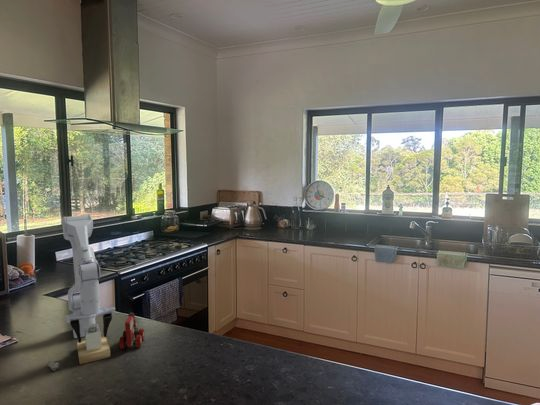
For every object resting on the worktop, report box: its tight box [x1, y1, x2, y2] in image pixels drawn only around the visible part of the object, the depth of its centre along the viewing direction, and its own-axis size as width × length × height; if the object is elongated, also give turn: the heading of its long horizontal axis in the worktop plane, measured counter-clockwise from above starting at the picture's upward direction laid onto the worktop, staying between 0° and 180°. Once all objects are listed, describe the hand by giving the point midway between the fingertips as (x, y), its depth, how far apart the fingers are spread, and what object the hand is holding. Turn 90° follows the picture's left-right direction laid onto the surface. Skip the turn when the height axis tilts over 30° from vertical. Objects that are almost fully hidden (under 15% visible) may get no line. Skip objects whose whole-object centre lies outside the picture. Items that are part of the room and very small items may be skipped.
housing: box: [83, 322, 102, 352], centre depth 128 cm, size 8×4×7 cm, turn 30°
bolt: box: [46, 360, 61, 372], centre depth 119 cm, size 5×2×2 cm, turn 50°
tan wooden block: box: [76, 335, 111, 365], centre depth 128 cm, size 12×9×2 cm
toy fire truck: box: [118, 312, 145, 350], centre depth 134 cm, size 7×12×10 cm, turn 10°
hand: (92, 338), depth 128 cm, fingers open, 7 cm apart
